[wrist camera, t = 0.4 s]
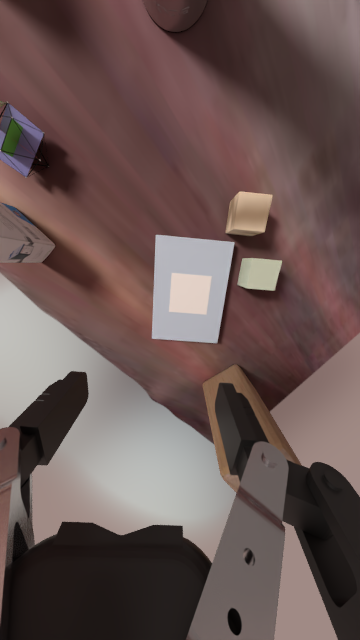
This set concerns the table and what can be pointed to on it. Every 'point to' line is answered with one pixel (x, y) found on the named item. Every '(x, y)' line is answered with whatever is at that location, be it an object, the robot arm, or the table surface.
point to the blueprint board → (189, 288)
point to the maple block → (248, 214)
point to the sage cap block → (259, 273)
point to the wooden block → (261, 412)
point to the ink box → (21, 238)
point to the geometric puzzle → (19, 140)
